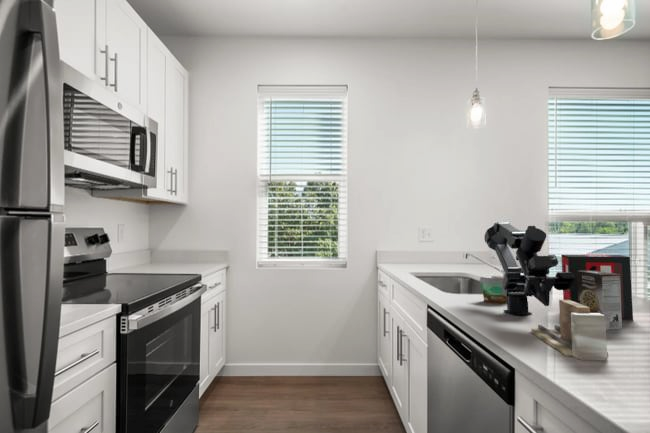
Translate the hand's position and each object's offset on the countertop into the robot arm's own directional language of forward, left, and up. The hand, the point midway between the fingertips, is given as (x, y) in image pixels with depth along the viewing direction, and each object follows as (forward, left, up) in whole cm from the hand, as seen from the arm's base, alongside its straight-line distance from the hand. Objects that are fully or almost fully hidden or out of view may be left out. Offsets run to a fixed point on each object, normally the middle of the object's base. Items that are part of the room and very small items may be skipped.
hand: (547, 305), depth 103 cm
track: (+10, -4, -8) cm, 13 cm away
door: (+14, -5, -7) cm, 16 cm away
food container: (-39, +13, -8) cm, 42 cm away
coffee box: (-2, +20, -8) cm, 22 cm away
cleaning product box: (-12, +30, -8) cm, 33 cm away
